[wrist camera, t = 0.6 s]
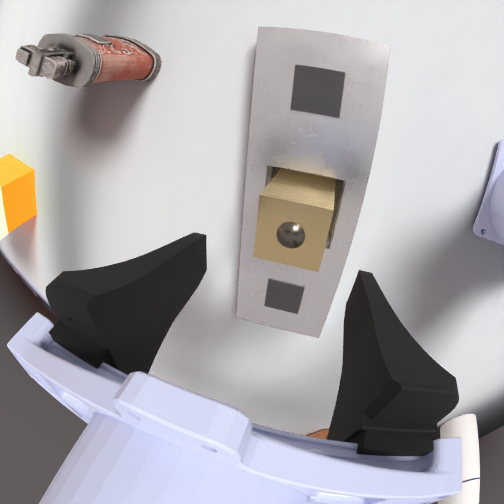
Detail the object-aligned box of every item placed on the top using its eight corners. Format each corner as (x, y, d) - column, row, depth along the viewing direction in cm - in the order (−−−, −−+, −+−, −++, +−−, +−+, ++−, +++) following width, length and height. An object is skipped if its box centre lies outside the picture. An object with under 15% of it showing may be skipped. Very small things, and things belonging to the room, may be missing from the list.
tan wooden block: (335, 178, 19) (333, 210, 14) (325, 227, 21) (318, 272, 16) (281, 167, 20) (259, 195, 15) (274, 216, 22) (253, 257, 17)
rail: (384, 51, 13) (390, 45, 11) (321, 322, 26) (318, 338, 24) (266, 33, 14) (257, 26, 13) (242, 303, 28) (235, 317, 26)
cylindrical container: (477, 421, 29) (474, 540, 9) (443, 434, 33) (434, 550, 13) (473, 409, 28) (472, 544, 7) (436, 424, 31) (425, 555, 11)
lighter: (168, 53, 17) (68, 49, 9) (150, 89, 19) (51, 105, 10) (108, 29, 16) (17, 30, 8) (94, 60, 18) (5, 72, 10)
